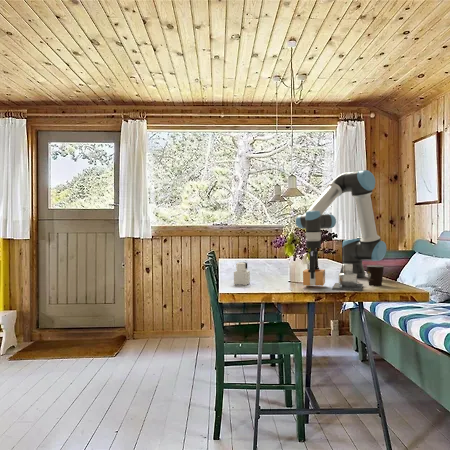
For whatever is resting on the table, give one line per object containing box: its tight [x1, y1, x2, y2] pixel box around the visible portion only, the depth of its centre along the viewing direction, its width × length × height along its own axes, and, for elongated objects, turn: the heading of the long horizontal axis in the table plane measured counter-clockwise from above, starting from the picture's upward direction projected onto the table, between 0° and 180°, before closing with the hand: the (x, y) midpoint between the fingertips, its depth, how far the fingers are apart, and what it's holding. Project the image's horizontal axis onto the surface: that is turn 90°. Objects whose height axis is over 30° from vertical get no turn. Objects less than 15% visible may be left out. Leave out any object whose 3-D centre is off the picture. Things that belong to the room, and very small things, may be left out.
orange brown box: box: [302, 268, 326, 287], centre depth 226 cm, size 10×10×7 cm
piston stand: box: [332, 263, 364, 292], centre depth 222 cm, size 18×14×12 cm
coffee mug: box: [365, 264, 385, 287], centre depth 232 cm, size 12×9×10 cm
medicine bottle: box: [233, 261, 251, 286], centre depth 239 cm, size 7×7×12 cm
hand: (314, 283), depth 226 cm, fingers closed on orange brown box, 10 cm apart
